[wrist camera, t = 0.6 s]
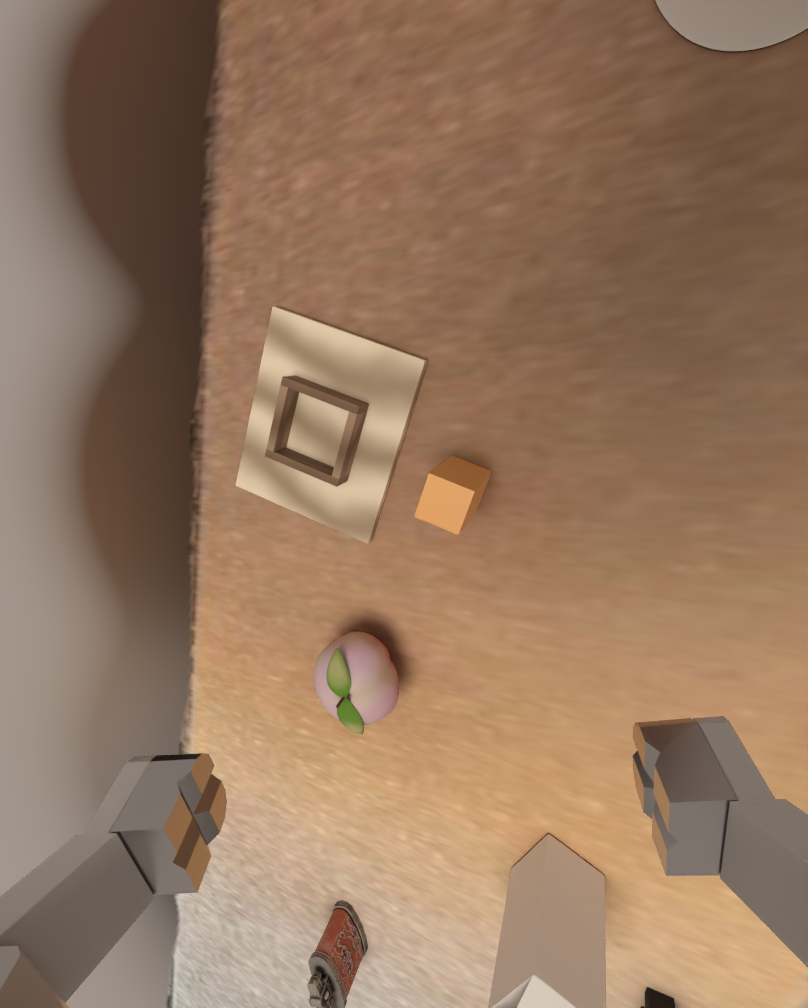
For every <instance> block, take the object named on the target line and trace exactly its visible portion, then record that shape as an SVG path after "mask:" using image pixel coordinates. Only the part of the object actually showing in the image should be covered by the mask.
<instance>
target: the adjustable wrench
mask: <svg viewBox="0 0 808 1008" xmlns="http://www.w3.org/2000/svg"><path fill="white" fill-rule="evenodd" d="M641 1008H675V1003H674V998H671V997H669V996H667V995H664V994H662V993H660V992H657V991H655V990H653V989H650V988H648V987H647V989H646V991H645V1007H642V1006H641Z"/></svg>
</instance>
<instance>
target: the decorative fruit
mask: <svg viewBox="0 0 808 1008" xmlns="http://www.w3.org/2000/svg"><path fill="white" fill-rule="evenodd" d="M313 682H314V687H315V690H316V693H317V696H318V698H319V700H320V702H321V704H322V705H323V707H324V708H325V710H326V711H327V712H328V713H329V714H330V715H332V716H333V717H334V718H336V719H338V720H340V721H341V723H342V724H343V725H344V726H345V727H346V728H347V729H349V730H350V731H352V732H355V733H358V734H363V732H364V727H363V725H367V724H371V723H374V722H377V721H379V720H381V719H382V718H384V717H386V716H387V715H388V714H389V713H390V712H391V711H392V710H393V709H394V707H395V705H396V703H397V700H398V694H399V685H398V676H397V671H396V669H395V666H394V664H393V663H392V662H391V660H390V656H389V652H388V650H387V648H386V647H385V646H384V645H383V644H382V643H381V642H380V641H379V640H378V639H377V638H375V637H374V636H372V635H370V634H367V633H364V632H350V633H347V634H344V635H342V636H341V637H339V638H338V639H336V640H334V641H333V642H332V643H330V644H329V645H328V646H327V647H326V648H325V649H324V650H323V651H322V652H321V653H320V655H319V656H318V658H317V660H316V663H315V666H314V672H313Z"/></svg>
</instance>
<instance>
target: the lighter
mask: <svg viewBox="0 0 808 1008" xmlns="http://www.w3.org/2000/svg"><path fill="white" fill-rule="evenodd" d="M367 948H368V944H367V939H366V935H365V932H364V928H363V926H362V923H361V921H360V919H359V917H358V915H357V913H356V912H355V910H354V908H353V907H352V905H351V904H349V903H348V902H346V901H338V902H337V903H336V904H335V906H334V909H333V914H332V916H331V918H330V921H329V923H328V925H327V927H326V929H325V931H324V933H323V936H322V938H321V940H320V942H319V944H318V946H317V948H316V950H315V952H313V953H312V955H311V957H310V959H309V966H310V971H311V974H312V976H311V978H310V981H309V983H308V985H307V987H308V990H309V992H310V999H309V1002H310V1005H311V1006H312V1007H316V1008H345V1006H346V1003H347V999H346V998H347V996H348V993H349V991H350V988H351V985H352V983H353V980H354V978H355V975H356V973H357V970H358V967H359V965H360V962H361V960H362V957H363V956H364V955H365V953H366V951H367Z"/></svg>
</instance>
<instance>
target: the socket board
mask: <svg viewBox="0 0 808 1008" xmlns="http://www.w3.org/2000/svg"><path fill="white" fill-rule="evenodd" d="M427 363H428V360H426V359H423V358H420V357H417V356H414V355H412V354H409V353H406V352H403V351H400V350H398V349H395V348H392V347H389V346H386V345H384V344H381V343H378V342H375V341H372V340H369V339H367V338H364V337H361V336H358V335H355V334H353V333H350V332H347V331H344V330H341V329H339V328H336V327H333V326H330V325H327V324H324V323H322V322H319V321H316V320H313V319H310V318H308V317H305V316H302V315H299V314H296V313H294V312H291V311H288V310H285V309H282V308H279V307H274V306H273V307H272V312H271V317H270V322H269V327H268V331H267V336H266V341H265V346H264V351H263V356H262V361H261V365H260V370H259V375H258V380H257V385H256V390H255V394H254V399H253V404H252V409H251V414H250V419H249V424H248V428H247V433H246V438H245V443H244V448H243V453H242V458H241V462H240V467H239V472H238V477H237V482H236V486H238V487H240V488H242V489H245V490H247V491H249V492H251V493H254V494H256V495H258V496H260V497H263V498H265V499H267V500H270V501H272V502H274V503H276V504H279V505H281V506H283V507H285V508H288V509H290V510H292V511H295V512H297V513H299V514H301V515H304V516H306V517H308V518H310V519H313V520H315V521H317V522H319V523H322V524H324V525H326V526H329V527H331V528H333V529H335V530H338V531H340V532H342V533H344V534H347V535H349V536H351V537H354V538H356V539H358V540H360V541H363V542H365V543H367V544H369V543H370V542H371V541H372V539H373V535H374V532H375V529H376V526H377V523H378V519H379V516H380V513H381V510H382V507H383V503H384V500H385V497H386V494H387V491H388V487H389V484H390V481H391V478H392V475H393V471H394V468H395V465H396V462H397V459H398V455H399V452H400V449H401V446H402V443H403V439H404V436H405V433H406V430H407V427H408V424H409V420H410V417H411V414H412V411H413V408H414V404H415V401H416V398H417V395H418V392H419V388H420V385H421V382H422V379H423V376H424V372H425V369H426V366H427Z"/></svg>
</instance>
